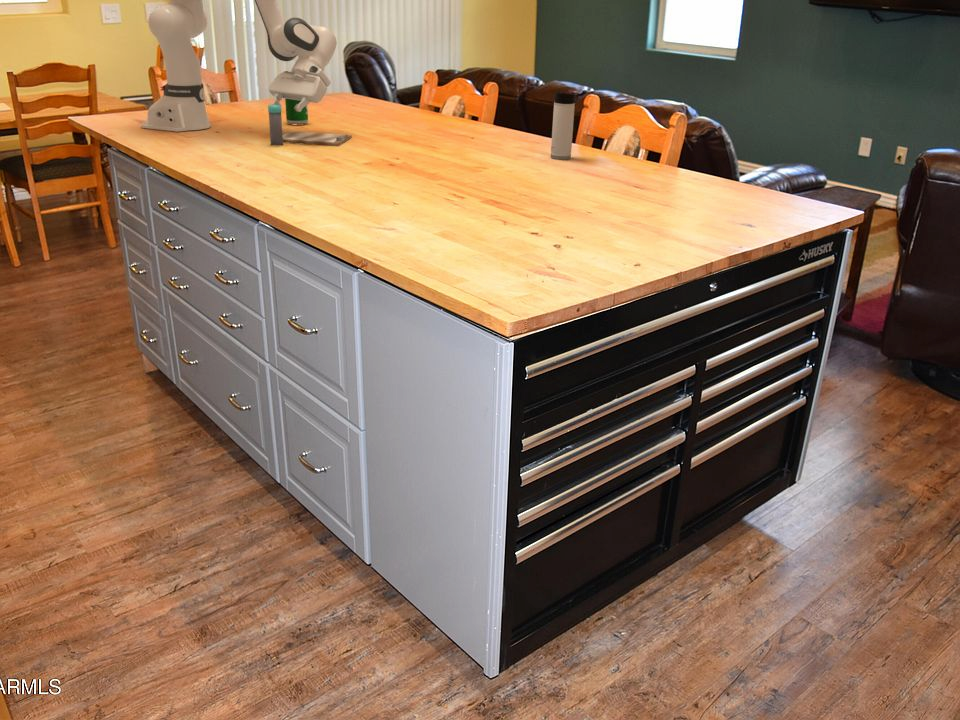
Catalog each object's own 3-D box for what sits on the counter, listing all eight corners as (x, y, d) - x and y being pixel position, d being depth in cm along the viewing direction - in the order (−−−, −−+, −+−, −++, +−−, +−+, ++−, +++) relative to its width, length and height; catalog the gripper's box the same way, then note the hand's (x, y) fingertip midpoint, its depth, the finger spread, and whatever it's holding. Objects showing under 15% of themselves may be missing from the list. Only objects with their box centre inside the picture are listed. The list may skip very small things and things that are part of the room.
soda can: (306, 126, 314) (304, 90, 309) (284, 125, 314) (282, 89, 309) (310, 122, 321) (308, 87, 316) (289, 121, 321) (287, 86, 316)
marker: (268, 145, 282) (266, 106, 277) (273, 143, 286) (270, 104, 281) (280, 146, 281) (278, 106, 277) (285, 143, 285) (283, 104, 280)
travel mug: (546, 158, 278) (551, 91, 269) (555, 154, 283) (559, 89, 275) (565, 161, 275) (570, 93, 267) (573, 157, 280) (578, 91, 272)
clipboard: (271, 141, 287) (271, 136, 286) (287, 133, 301) (287, 128, 300) (338, 146, 284) (338, 140, 284) (351, 137, 298) (351, 132, 297)
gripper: (276, 64, 289) (256, 98, 285) (324, 69, 279) (304, 105, 275) (287, 77, 294) (267, 111, 291) (334, 83, 284) (315, 118, 280)
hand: (286, 108), depth 283 cm, fingers open, 8 cm apart
